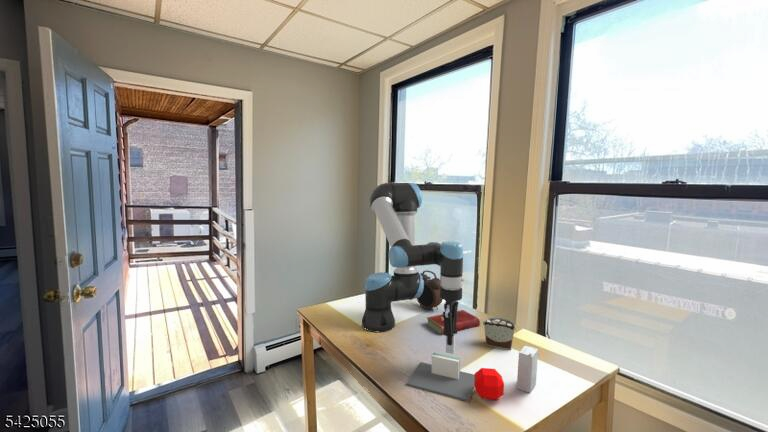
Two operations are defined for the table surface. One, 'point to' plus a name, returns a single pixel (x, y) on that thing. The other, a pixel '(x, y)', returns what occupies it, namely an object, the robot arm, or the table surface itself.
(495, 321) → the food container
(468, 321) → the hardcover book
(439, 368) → the tile
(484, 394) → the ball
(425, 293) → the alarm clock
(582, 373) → the table surface
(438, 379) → the mat
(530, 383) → the skincare box
